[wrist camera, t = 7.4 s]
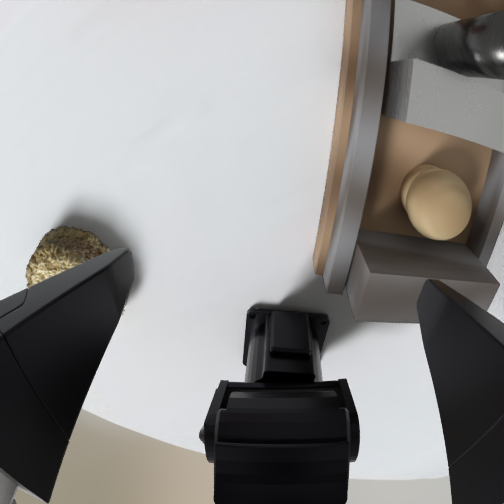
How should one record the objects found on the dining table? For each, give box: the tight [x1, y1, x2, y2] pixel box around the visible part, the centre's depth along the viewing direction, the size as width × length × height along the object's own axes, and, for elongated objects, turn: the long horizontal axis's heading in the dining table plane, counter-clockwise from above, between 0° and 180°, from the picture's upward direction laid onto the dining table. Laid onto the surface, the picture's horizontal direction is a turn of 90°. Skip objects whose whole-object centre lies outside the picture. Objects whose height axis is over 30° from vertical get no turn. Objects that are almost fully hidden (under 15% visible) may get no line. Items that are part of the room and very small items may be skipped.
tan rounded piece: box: [399, 164, 472, 240], centre depth 16 cm, size 4×4×4 cm
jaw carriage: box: [381, 0, 504, 153], centre depth 10 cm, size 7×8×7 cm
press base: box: [313, 0, 504, 323], centre depth 13 cm, size 24×12×7 cm, turn 176°
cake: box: [26, 226, 128, 315], centre depth 23 cm, size 10×10×5 cm
